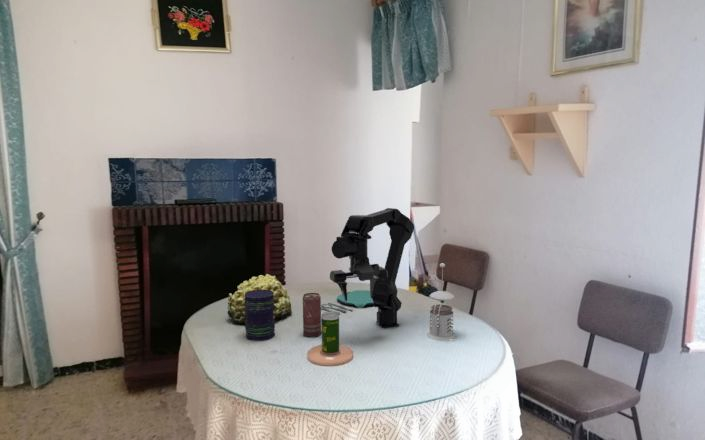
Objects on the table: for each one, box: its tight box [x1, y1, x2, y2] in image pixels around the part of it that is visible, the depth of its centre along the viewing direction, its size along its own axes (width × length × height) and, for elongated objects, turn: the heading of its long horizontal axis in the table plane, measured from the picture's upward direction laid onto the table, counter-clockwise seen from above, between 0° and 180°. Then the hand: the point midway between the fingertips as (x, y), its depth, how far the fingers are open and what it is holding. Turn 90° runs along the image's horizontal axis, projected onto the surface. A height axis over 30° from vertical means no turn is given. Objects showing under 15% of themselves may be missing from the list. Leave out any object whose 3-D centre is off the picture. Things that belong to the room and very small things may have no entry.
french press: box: [426, 262, 457, 341], centre depth 166 cm, size 10×12×25 cm
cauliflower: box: [227, 273, 293, 324], centre depth 189 cm, size 25×24×16 cm
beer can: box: [321, 311, 340, 355], centre depth 151 cm, size 5×5×12 cm
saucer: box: [306, 344, 354, 367], centre depth 151 cm, size 14×14×1 cm
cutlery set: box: [321, 289, 374, 316], centre depth 205 cm, size 20×30×2 cm, turn 132°
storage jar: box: [244, 289, 276, 342], centre depth 168 cm, size 10×10×15 cm
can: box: [302, 292, 322, 338], centre depth 169 cm, size 6×6×14 cm
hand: (358, 299), depth 166 cm, fingers open, 9 cm apart
